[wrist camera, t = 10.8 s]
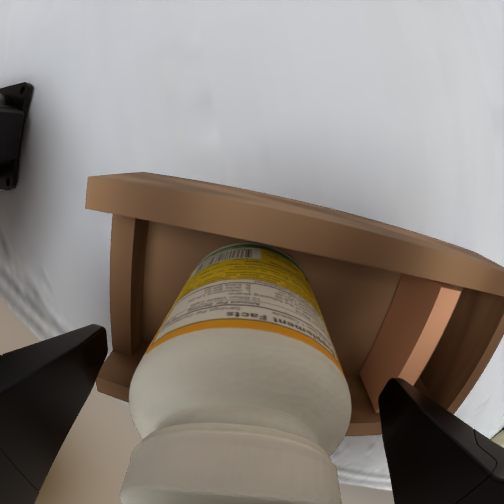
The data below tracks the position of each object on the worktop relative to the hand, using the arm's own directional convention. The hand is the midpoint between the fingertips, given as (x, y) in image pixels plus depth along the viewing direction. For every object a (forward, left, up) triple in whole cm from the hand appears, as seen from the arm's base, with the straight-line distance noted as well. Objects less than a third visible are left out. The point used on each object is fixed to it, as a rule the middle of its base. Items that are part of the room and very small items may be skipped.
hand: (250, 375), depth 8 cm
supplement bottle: (0, 0, -5) cm, 5 cm away
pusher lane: (+3, 0, -6) cm, 7 cm away
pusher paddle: (+7, 0, -5) cm, 8 cm away
